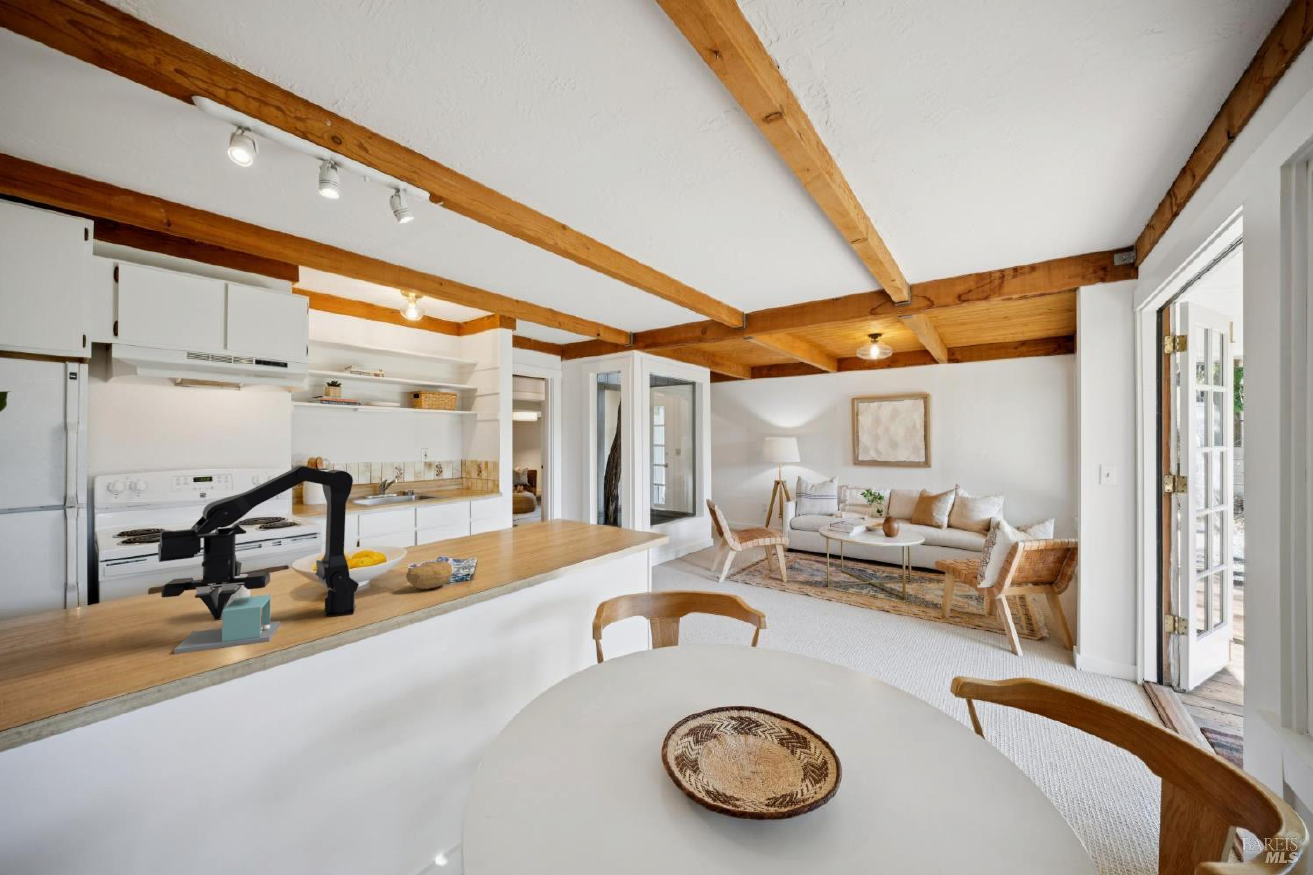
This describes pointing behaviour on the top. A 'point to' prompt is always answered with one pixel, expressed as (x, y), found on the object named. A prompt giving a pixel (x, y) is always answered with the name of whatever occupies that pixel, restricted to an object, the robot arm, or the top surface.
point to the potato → (429, 575)
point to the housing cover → (245, 617)
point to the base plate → (214, 639)
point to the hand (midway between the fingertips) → (218, 619)
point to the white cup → (240, 593)
